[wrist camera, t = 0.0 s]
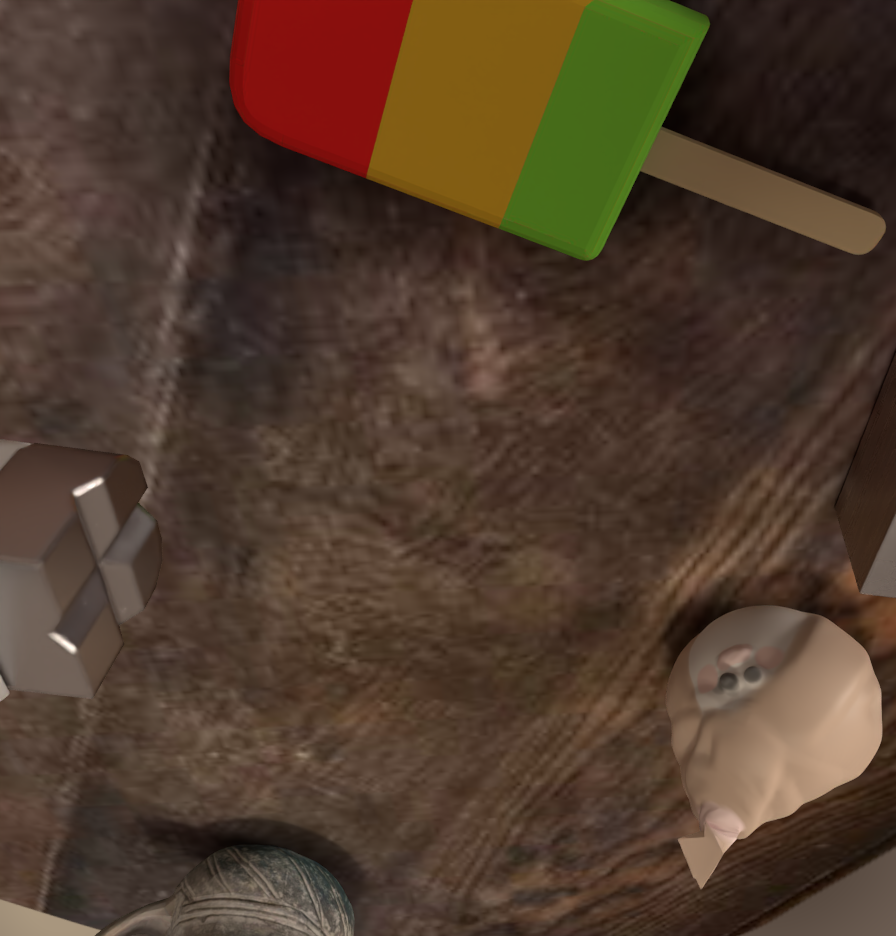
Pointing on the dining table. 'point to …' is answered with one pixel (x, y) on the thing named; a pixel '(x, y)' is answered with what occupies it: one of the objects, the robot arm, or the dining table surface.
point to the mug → (247, 899)
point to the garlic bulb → (767, 721)
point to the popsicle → (507, 111)
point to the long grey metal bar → (873, 499)
